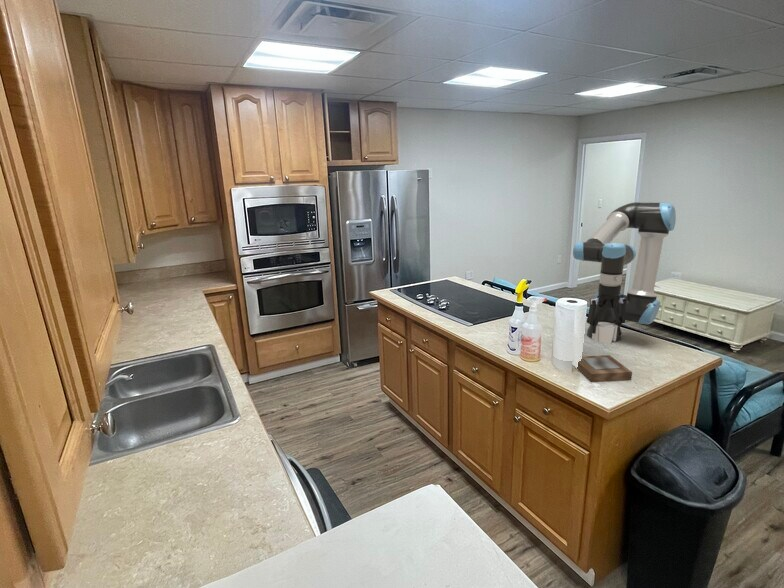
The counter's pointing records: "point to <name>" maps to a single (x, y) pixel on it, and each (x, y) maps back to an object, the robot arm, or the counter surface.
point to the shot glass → (605, 332)
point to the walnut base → (603, 369)
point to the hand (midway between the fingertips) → (603, 340)
